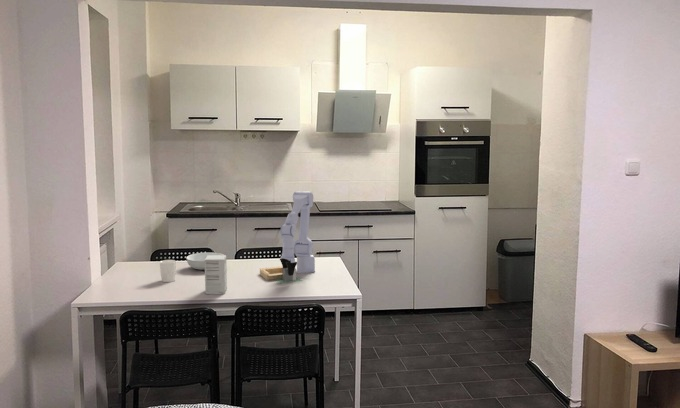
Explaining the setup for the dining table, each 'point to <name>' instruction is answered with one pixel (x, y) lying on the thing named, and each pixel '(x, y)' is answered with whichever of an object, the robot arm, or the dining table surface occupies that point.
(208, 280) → the supplement box
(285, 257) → the robot arm
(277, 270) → the tan wooden shallow tray
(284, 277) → the grey box
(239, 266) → the dining table surface
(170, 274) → the white cup
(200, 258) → the serving bowl
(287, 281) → the flat green panel
